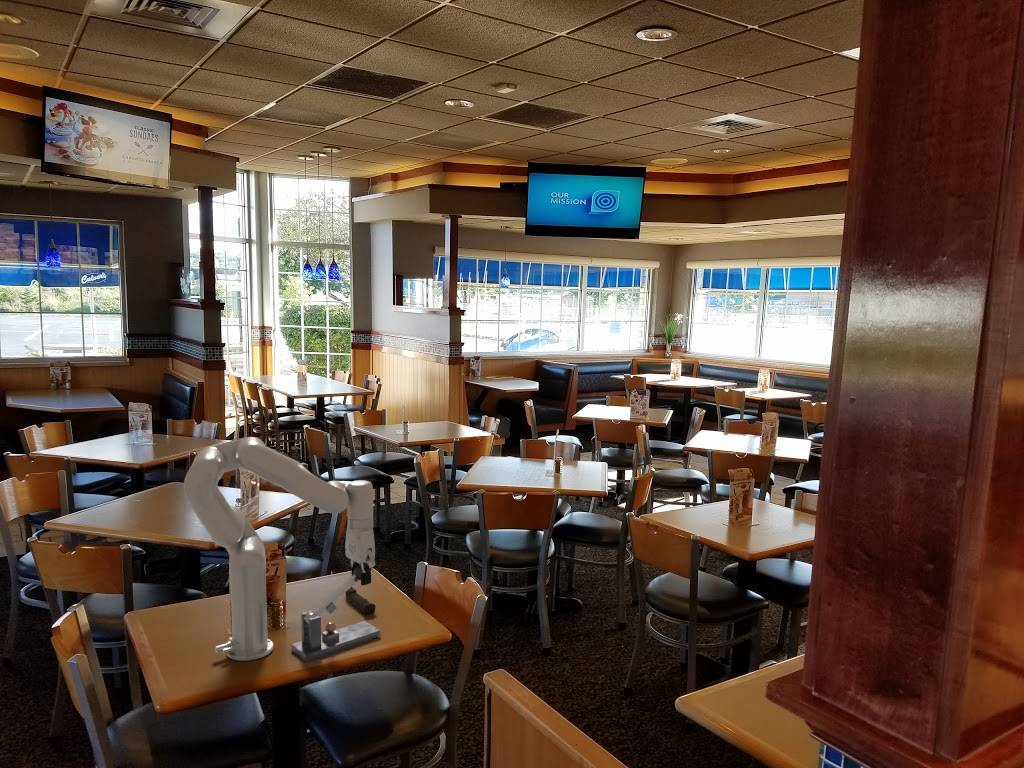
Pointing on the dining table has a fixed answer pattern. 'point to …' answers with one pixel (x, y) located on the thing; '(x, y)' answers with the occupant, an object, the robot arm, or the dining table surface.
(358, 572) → the lever
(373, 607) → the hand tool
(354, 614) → the dining table surface
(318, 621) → the nutcracker bench
